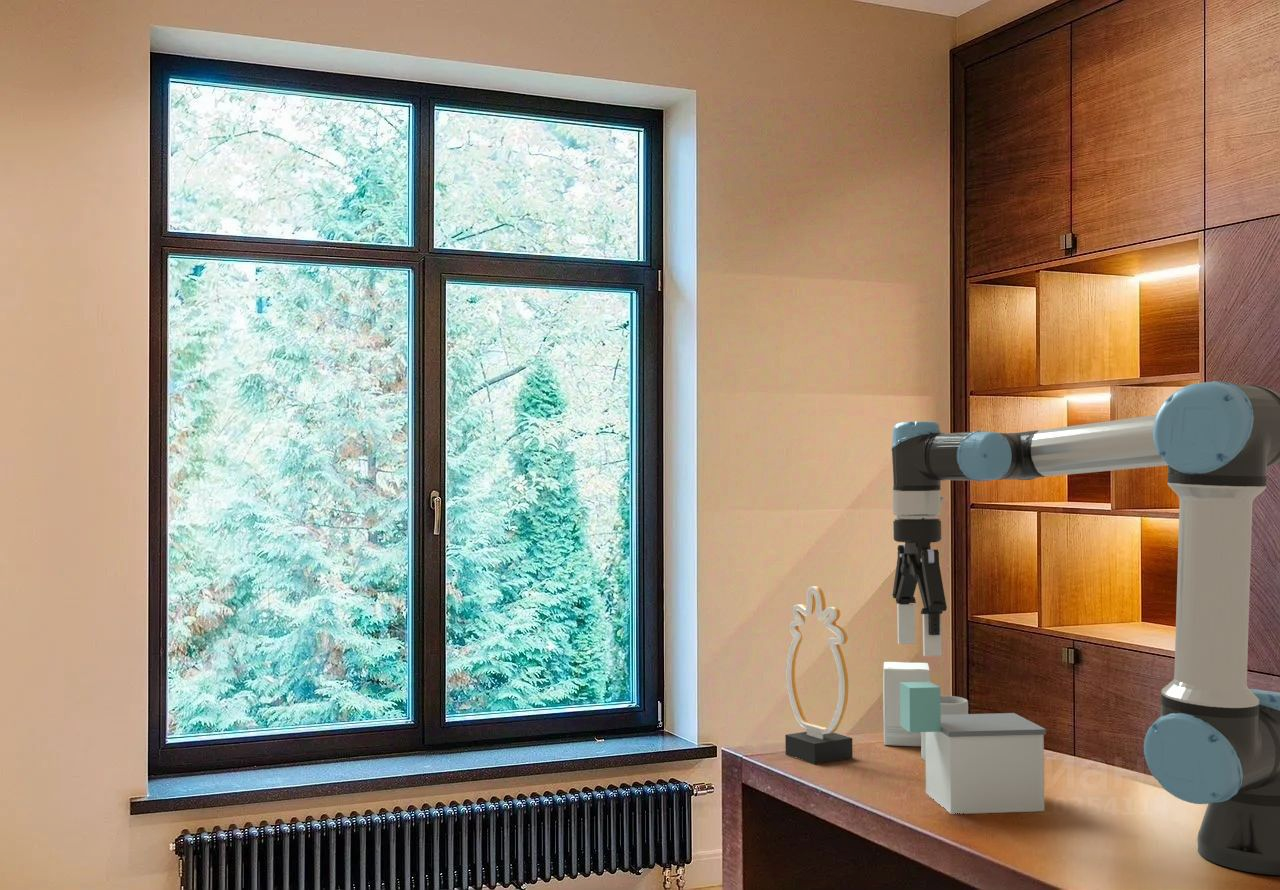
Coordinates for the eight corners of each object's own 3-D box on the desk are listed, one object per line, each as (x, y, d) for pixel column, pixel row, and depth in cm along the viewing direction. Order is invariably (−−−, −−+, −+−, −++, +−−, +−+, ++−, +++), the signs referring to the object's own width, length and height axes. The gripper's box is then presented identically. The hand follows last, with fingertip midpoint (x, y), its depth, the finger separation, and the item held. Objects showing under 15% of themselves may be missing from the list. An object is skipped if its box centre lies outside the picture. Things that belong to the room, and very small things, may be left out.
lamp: (867, 762, 221) (865, 588, 222) (828, 769, 217) (827, 591, 217) (809, 744, 236) (808, 581, 236) (772, 750, 231) (771, 583, 232)
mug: (978, 762, 221) (978, 701, 222) (940, 766, 218) (939, 705, 218) (938, 748, 232) (937, 690, 233) (900, 752, 229) (900, 694, 229)
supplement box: (931, 748, 233) (930, 669, 233) (883, 746, 234) (882, 668, 235) (929, 737, 242) (929, 662, 242) (883, 735, 243) (883, 660, 244)
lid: (1046, 743, 190) (1045, 689, 190) (917, 746, 188) (917, 692, 188) (1014, 726, 202) (1013, 675, 202) (893, 729, 200) (892, 678, 201)
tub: (1044, 811, 190) (1043, 734, 190) (950, 814, 188) (950, 736, 189) (1013, 790, 202) (1013, 718, 202) (925, 793, 200) (925, 720, 201)
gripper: (966, 520, 184) (968, 660, 183) (916, 514, 209) (917, 638, 208) (918, 520, 183) (920, 661, 183) (873, 514, 208) (874, 639, 207)
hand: (918, 649), depth 195 cm, fingers open, 13 cm apart
